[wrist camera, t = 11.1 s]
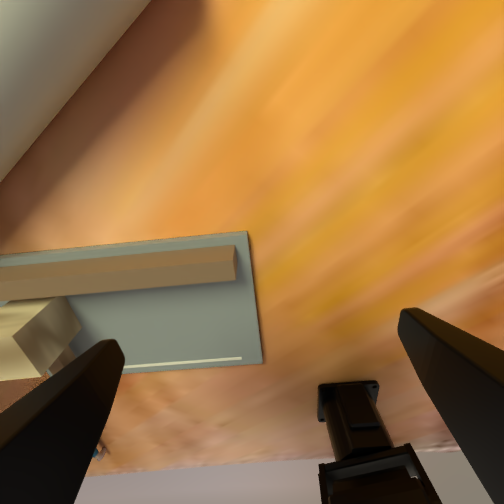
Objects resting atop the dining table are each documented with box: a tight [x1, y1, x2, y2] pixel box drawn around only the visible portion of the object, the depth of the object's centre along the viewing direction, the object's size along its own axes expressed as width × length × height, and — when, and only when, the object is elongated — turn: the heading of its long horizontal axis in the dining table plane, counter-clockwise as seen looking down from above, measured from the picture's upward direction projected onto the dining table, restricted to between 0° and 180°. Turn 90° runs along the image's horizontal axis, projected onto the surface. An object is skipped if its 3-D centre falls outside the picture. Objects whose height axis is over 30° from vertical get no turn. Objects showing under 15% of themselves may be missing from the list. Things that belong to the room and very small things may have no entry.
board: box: [0, 231, 263, 377], centre depth 21 cm, size 14×22×3 cm, turn 96°
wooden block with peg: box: [0, 296, 82, 381], centre depth 21 cm, size 10×4×5 cm, turn 6°
